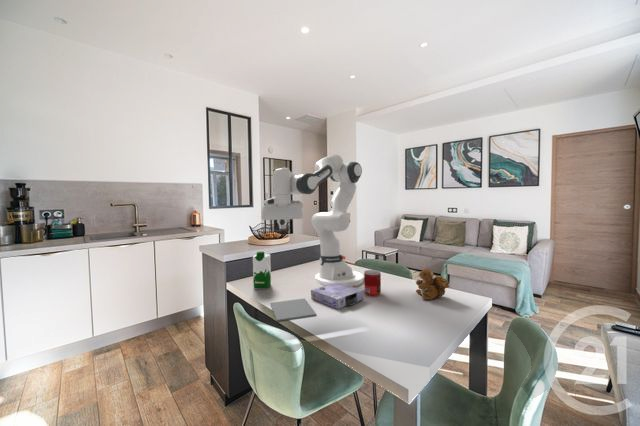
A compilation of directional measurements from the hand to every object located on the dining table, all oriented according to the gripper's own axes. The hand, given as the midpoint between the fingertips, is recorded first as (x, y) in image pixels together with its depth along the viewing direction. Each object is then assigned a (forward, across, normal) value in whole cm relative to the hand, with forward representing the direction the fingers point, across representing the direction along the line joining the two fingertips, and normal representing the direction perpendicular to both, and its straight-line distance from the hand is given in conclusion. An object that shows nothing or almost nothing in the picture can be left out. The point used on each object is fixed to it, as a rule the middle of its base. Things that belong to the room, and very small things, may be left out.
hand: (282, 228), depth 132 cm
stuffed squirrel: (+33, -66, +27) cm, 79 cm away
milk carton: (+33, +9, -14) cm, 37 cm away
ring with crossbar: (+35, -35, -13) cm, 51 cm away
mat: (+33, 0, +20) cm, 39 cm away
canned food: (+33, -42, +14) cm, 55 cm away
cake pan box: (+31, -14, +19) cm, 39 cm away
